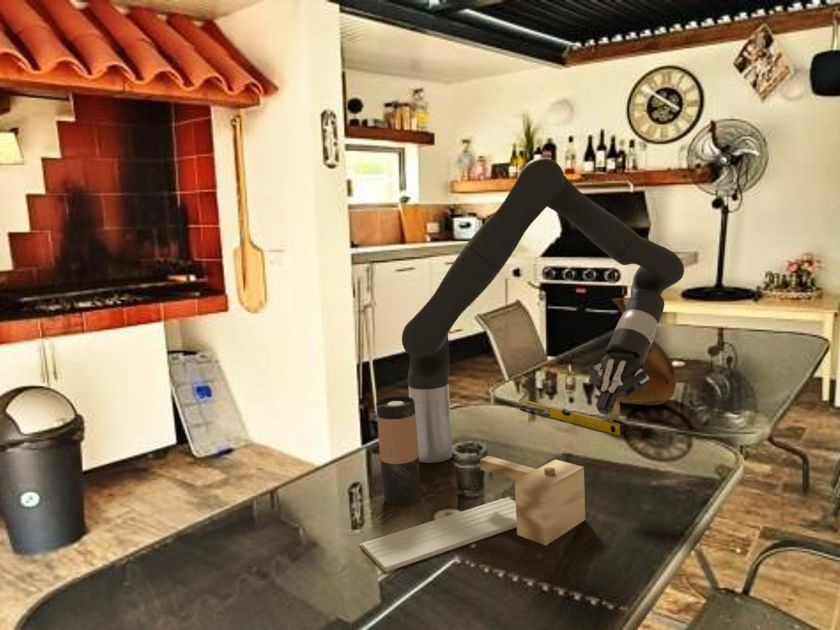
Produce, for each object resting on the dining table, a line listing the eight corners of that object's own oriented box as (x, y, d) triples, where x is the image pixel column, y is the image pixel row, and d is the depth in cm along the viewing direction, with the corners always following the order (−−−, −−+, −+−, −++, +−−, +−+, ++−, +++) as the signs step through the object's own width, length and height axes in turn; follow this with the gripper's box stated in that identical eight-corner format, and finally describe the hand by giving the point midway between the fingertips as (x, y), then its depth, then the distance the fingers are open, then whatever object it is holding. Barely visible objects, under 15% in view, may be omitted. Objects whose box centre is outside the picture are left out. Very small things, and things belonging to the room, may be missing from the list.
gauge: (465, 515, 125) (462, 460, 123) (506, 494, 133) (503, 442, 131) (545, 545, 112) (543, 484, 110) (585, 520, 120) (583, 462, 119)
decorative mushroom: (642, 422, 170) (642, 364, 167) (609, 430, 165) (608, 371, 163) (612, 411, 180) (611, 357, 177) (580, 419, 175) (578, 363, 173)
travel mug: (427, 492, 136) (421, 397, 133) (411, 508, 129) (404, 408, 126) (394, 488, 139) (387, 394, 136) (376, 503, 132) (368, 405, 129)
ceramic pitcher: (665, 391, 195) (664, 289, 190) (685, 412, 175) (685, 299, 171) (596, 394, 197) (593, 292, 192) (608, 415, 177) (606, 302, 173)
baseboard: (356, 545, 118) (386, 576, 107) (354, 529, 117) (384, 559, 107) (500, 499, 132) (539, 522, 121) (500, 485, 131) (539, 507, 121)
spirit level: (624, 435, 162) (623, 423, 161) (620, 437, 161) (620, 425, 161) (522, 408, 188) (522, 398, 188) (519, 410, 187) (519, 399, 187)
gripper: (596, 324, 137) (564, 396, 130) (657, 329, 128) (626, 407, 121) (610, 345, 141) (580, 416, 135) (670, 351, 132) (641, 428, 125)
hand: (602, 412), depth 128 cm, fingers closed
